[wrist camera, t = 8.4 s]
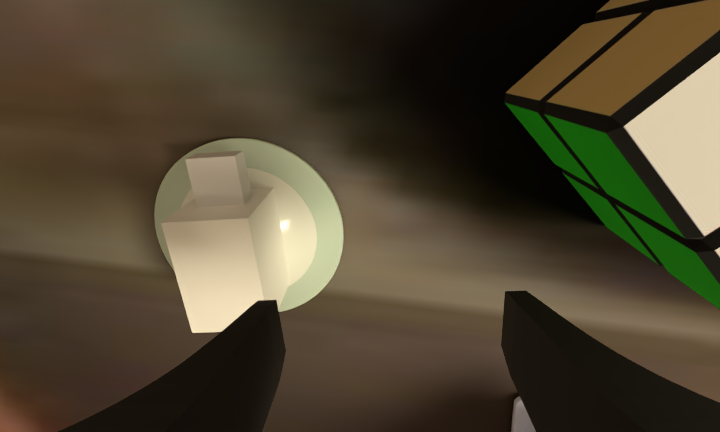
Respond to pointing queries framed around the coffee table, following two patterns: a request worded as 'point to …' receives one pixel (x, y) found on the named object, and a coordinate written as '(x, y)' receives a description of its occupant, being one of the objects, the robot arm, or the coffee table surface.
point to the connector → (225, 243)
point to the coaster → (295, 208)
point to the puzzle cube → (639, 128)
